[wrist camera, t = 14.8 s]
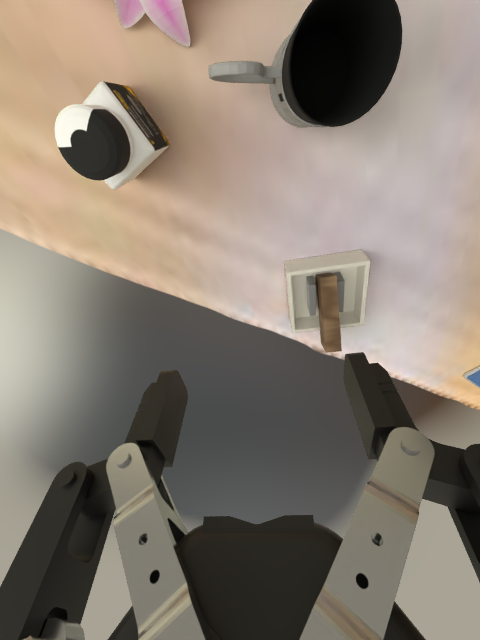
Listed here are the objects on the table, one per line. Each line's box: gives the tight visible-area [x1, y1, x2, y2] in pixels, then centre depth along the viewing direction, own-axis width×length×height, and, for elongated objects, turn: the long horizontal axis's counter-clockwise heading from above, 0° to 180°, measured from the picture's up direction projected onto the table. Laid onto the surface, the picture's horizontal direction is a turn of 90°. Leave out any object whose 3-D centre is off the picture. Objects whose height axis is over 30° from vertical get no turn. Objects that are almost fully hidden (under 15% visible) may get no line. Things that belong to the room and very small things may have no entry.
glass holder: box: [209, 0, 402, 127], centre depth 25 cm, size 9×14×15 cm, turn 92°
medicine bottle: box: [55, 81, 169, 190], centre depth 30 cm, size 7×7×12 cm
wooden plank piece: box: [316, 272, 341, 352], centre depth 44 cm, size 2×4×12 cm
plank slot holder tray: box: [284, 250, 370, 333], centre depth 45 cm, size 12×12×4 cm
